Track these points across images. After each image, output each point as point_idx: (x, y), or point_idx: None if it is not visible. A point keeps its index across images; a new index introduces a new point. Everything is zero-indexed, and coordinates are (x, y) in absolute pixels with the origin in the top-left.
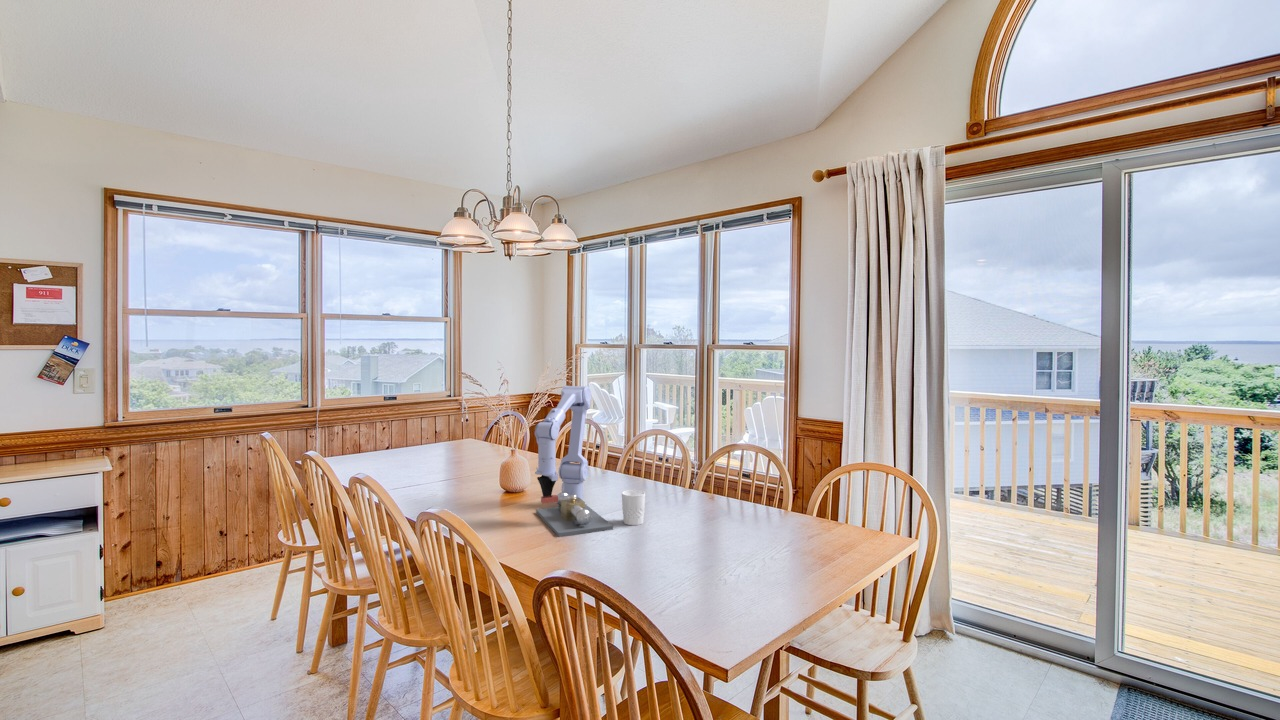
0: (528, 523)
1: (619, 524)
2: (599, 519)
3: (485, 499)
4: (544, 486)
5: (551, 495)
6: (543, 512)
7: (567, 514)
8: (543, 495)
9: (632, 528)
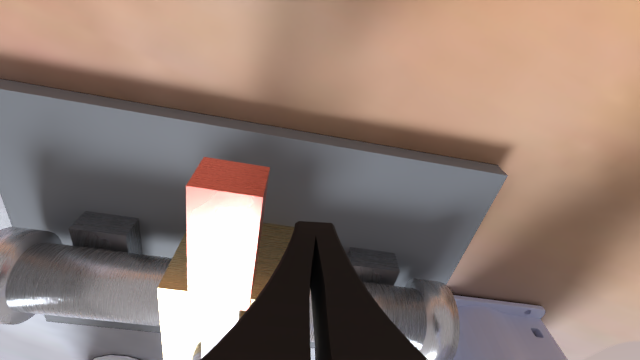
0: (342, 33)
1: (117, 342)
2: None
3: None
4: (244, 320)
5: (248, 280)
6: (421, 183)
7: (183, 241)
8: (316, 235)
9: (53, 351)
